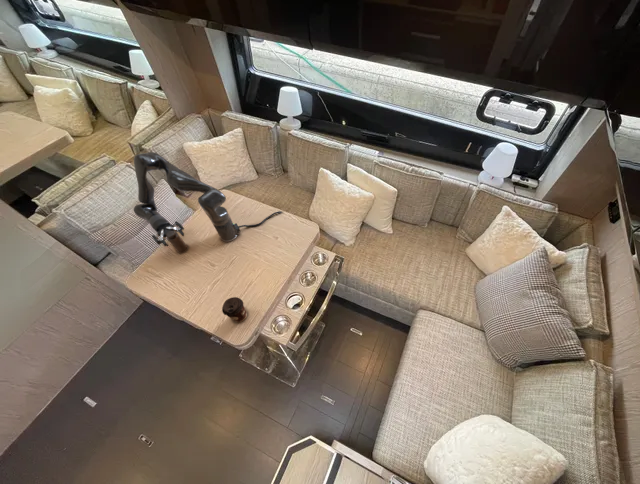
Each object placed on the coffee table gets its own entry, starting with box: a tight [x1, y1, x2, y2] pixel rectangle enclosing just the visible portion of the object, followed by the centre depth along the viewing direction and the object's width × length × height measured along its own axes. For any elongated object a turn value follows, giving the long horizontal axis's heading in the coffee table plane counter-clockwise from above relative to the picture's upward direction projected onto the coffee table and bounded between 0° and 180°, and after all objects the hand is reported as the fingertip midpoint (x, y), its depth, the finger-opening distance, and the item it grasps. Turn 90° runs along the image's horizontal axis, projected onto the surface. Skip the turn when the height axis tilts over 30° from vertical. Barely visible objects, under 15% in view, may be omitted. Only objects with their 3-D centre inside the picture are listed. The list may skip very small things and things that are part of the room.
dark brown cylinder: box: [221, 296, 248, 323], centre depth 123 cm, size 9×8×13 cm
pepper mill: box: [166, 231, 188, 254], centre depth 145 cm, size 5×5×14 cm
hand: (175, 239), depth 145 cm, fingers open, 8 cm apart
